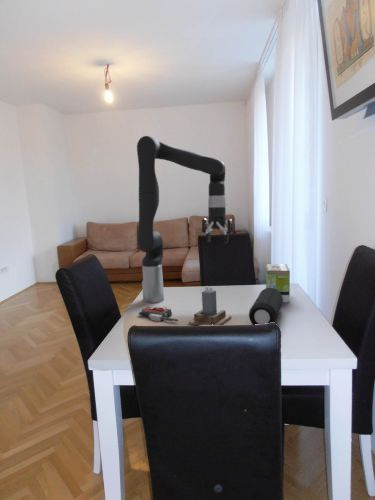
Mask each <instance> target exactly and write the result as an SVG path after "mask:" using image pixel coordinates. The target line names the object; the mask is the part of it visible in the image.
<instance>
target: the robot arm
mask: <svg viewBox="0 0 375 500" xmlns="http://www.w3.org/2000/svg"><path fill="white" fill-rule="evenodd" d="M136 152H137V155H136V156H137V161H138V162H137V163H138V229H137V242H136V243H137V246H138V248H139V250H140V251H142V252H144V253H145V255H144V257H143V258H142V260H141V261H142V262H141V264H142V279H143V280H142V281H141V287H142V288H141V289H142V300H143V301H145V302H146V303H152V304H153V303H161V302H163V301H164V299H165V295H164V294H165V293H164V291H165V290H164V280H163V279H164V278H163V264H162V263H163V258H164V243H163V237H162V235H161V233H160V232H158V231H157V230H154V222H155V221H154V220H155V217H156V214H157V211H158V208H159V205H160V186H159V182H158V177H157V174H156V168H155V167H156V166H155V165H156V160H163V161H167V162H168V161H169V162H171V163H174V164H176V165H179V166H181V167H184V168H187V169H190V170H194V171H199V172H202V173H203V174H208V175H209V184H208V200H207V203H208V205H207V208H208V209H207V210H208V212H207V213H208V219H207V218H203V219H202V220H201V221H202V222H201V232H202V233H204V234H205V240H206V243H211V239H212V237H211V233H212V231H213V230H221V232H222V233H223V244H228V242H229V239H230V238H229V237H230V236H229V235H230V234H233V233H234V228H233V220H232V219H226V206H227V205H226V195H225V194H226V193H225V192H226V190H225V189H226V186H225V180H226V166H225V163H224V162H223V161H222V160H220V159H218V158H214V157H210V156H207V155H206V156H205V155H203V154H201V153H197V152H193V151H190V150H185V149H181V148H176V147H173V146H170V145H168V144H165V143H163V142H161V141H159V140H158V139H156V138H154V137H153V136H149V135H144V136H142V137H140V138H139V140H138V141H137V144H136ZM208 224H209V225H208ZM226 225H227V226H226Z"/></svg>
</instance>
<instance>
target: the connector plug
mask: <svg viewBox="0 0 375 500" xmlns="http://www.w3.org/2000/svg"><path fill="white" fill-rule="evenodd" d="M204 287H205V288H204V289H205V290H203V291H201V301H202V306H201V307H202V309H203V314H204V315H210V316H214V315H215V314H217V313H218V309H217V308H218V307H217V290H214V289H213V286H208V285H206V286H204Z"/></svg>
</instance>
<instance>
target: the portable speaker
mask: <svg viewBox="0 0 375 500" xmlns="http://www.w3.org/2000/svg"><path fill="white" fill-rule="evenodd" d="M283 303H284V302H283V297H282V295H281V293H280V292H279V291H278V290H276V289H274V288H266V287H265V288H264V289H262V290H261V291H260V293H259V295H258V296H257V298H256V299H255V301H254V303H253V304H252V305H251V307H250V309H249V312H248V317H249V320H250V323H251V324H252V325H253V326H254V325H255V324H265V323H270V322H275V323H276V322H277V319H278V317H279V315H280V312H281V309H282V305H283Z"/></svg>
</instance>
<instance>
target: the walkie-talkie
mask: <svg viewBox="0 0 375 500" xmlns="http://www.w3.org/2000/svg"><path fill="white" fill-rule="evenodd" d="M138 315H139V316H141V317H144V318H145V317H146V318H150V319H151V320H152V321H157V322H161V321H168V322H173V321H174V322H179V319H178V318H177V319H176V318H171V317H172V316H173V312H172V309H171V308H167V307H166V306H164V305H156V306H154V305H150V306H149V305H147V306H146V307H144V308H142V309H141V311H139V312H138Z"/></svg>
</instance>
